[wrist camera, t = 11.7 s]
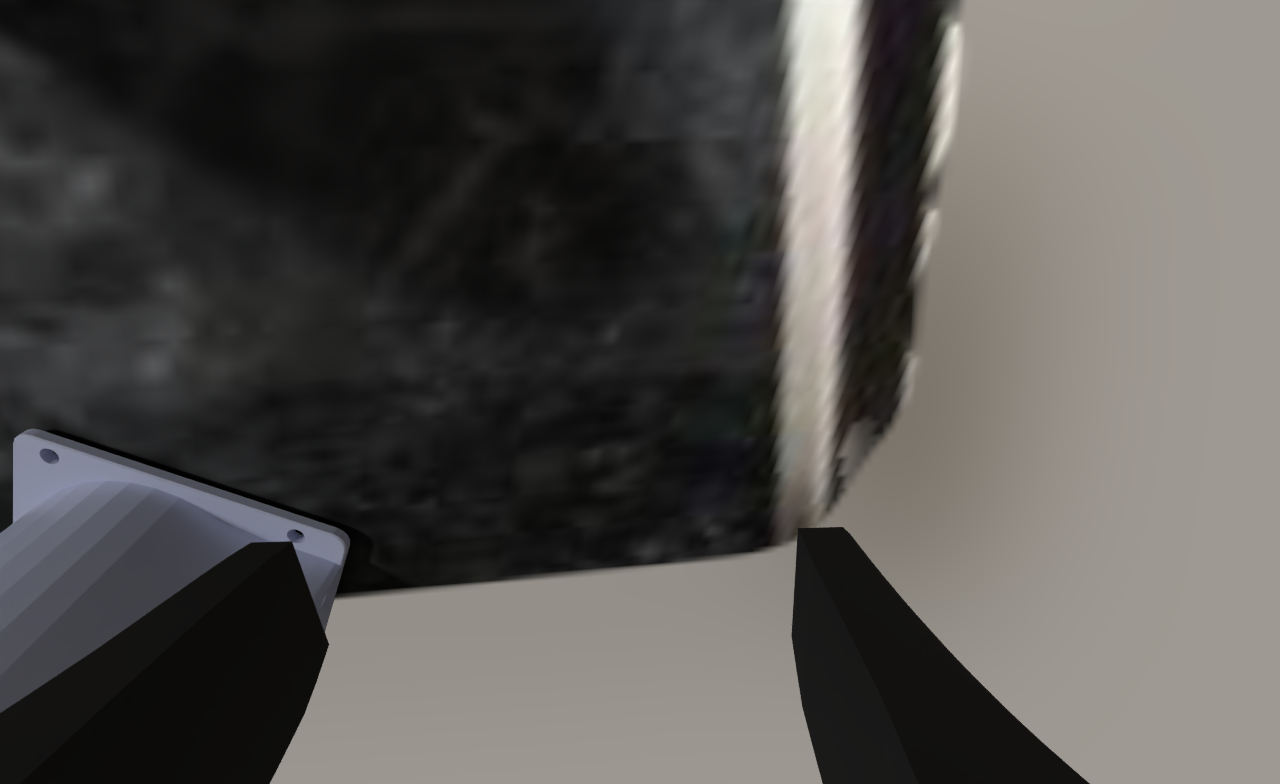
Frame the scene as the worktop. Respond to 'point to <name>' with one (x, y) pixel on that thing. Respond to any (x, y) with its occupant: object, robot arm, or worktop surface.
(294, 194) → the worktop surface
